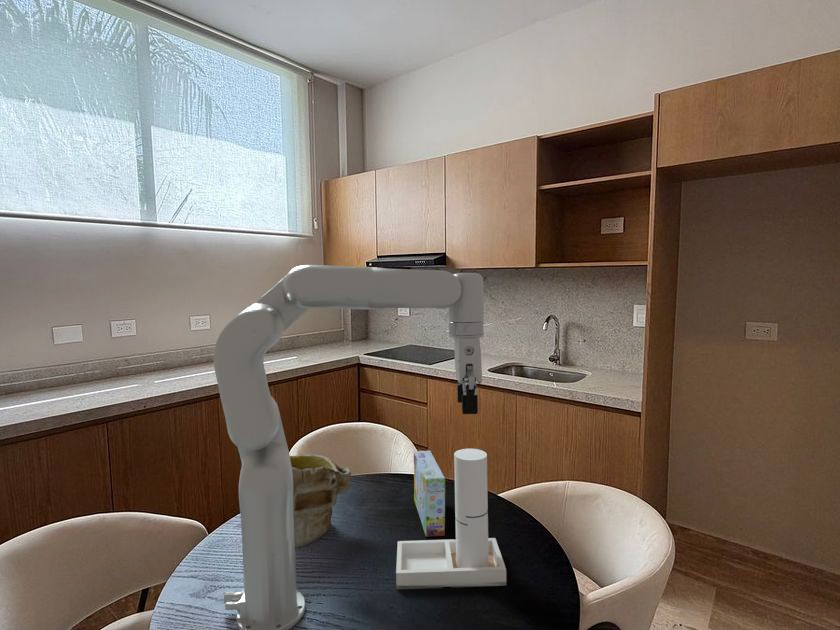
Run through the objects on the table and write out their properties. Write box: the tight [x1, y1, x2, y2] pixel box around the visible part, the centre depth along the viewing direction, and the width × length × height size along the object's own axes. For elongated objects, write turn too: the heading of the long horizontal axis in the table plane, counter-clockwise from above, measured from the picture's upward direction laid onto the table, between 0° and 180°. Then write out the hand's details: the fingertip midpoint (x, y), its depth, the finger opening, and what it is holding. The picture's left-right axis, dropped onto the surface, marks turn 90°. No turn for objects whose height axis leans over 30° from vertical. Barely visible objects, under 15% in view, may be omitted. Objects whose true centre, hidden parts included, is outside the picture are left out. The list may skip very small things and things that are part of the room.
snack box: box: [413, 450, 446, 538], centre depth 123 cm, size 21×6×15 cm, turn 9°
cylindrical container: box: [453, 448, 489, 568], centre depth 99 cm, size 7×7×25 cm
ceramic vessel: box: [290, 453, 352, 549], centre depth 117 cm, size 23×24×25 cm
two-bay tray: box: [395, 537, 507, 590], centre depth 100 cm, size 23×12×4 cm, turn 91°
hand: (467, 407), depth 99 cm, fingers open, 9 cm apart
